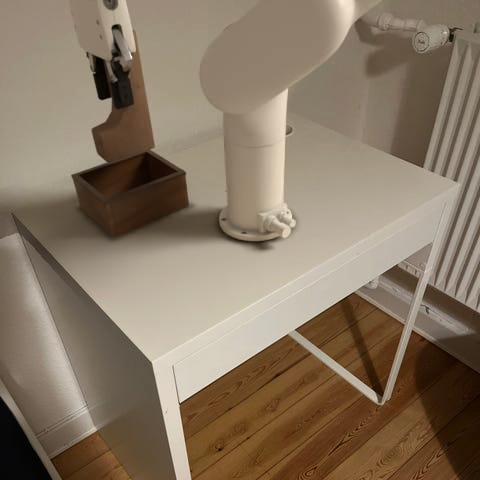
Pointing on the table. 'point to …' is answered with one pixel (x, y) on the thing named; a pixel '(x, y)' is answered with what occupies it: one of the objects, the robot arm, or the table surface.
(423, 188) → the table surface
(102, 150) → the wooden block
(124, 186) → the wooden box
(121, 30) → the robot arm
